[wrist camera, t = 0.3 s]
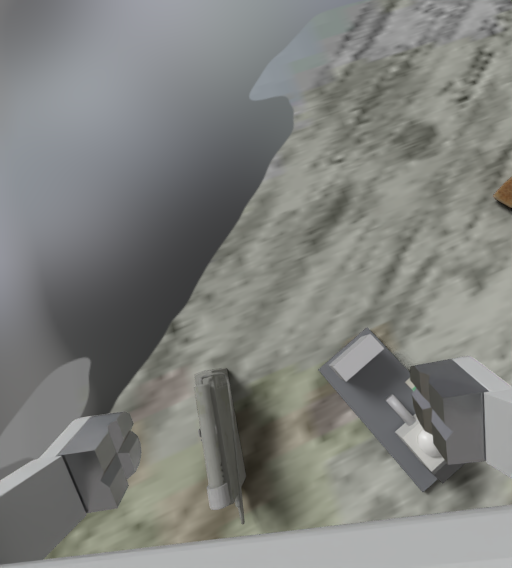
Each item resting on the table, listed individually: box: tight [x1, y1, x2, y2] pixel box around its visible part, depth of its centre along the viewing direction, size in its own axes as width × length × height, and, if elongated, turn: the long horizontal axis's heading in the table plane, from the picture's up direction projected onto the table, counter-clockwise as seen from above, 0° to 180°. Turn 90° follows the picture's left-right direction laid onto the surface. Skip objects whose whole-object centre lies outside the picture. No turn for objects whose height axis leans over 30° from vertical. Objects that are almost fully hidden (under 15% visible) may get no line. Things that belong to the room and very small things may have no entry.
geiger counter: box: [194, 368, 246, 524], centre depth 53 cm, size 14×6×25 cm
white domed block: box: [386, 394, 465, 483], centre depth 51 cm, size 13×9×5 cm
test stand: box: [318, 328, 437, 492], centre depth 52 cm, size 25×12×10 cm, turn 40°
